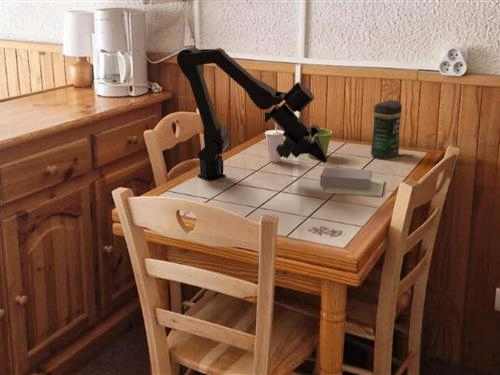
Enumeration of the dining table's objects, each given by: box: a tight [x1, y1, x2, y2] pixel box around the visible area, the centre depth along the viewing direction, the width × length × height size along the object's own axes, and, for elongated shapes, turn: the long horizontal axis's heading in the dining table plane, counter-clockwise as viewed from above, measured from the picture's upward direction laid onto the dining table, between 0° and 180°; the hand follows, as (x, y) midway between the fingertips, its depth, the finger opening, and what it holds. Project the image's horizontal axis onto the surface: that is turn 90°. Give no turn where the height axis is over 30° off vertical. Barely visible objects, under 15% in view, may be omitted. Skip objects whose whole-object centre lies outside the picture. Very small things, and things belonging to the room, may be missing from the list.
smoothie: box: [264, 121, 285, 163], centre depth 221 cm, size 6×6×14 cm
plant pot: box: [307, 127, 333, 160], centre depth 226 cm, size 9×9×9 cm
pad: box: [323, 178, 385, 197], centre depth 198 cm, size 16×14×1 cm
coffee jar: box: [370, 99, 403, 160], centre depth 226 cm, size 10×8×19 cm
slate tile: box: [319, 166, 373, 190], centre depth 198 cm, size 3×9×14 cm
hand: (326, 161), depth 197 cm, fingers closed
